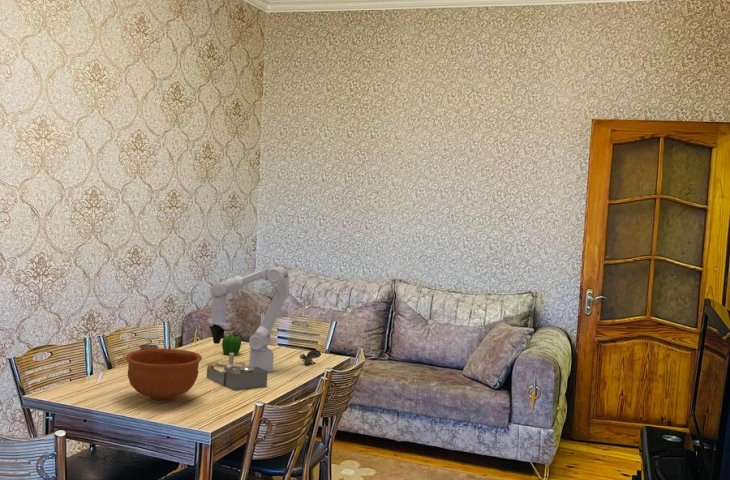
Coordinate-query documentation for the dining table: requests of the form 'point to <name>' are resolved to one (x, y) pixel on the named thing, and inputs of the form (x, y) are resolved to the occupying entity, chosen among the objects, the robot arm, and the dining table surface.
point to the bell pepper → (231, 344)
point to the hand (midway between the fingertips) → (216, 343)
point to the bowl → (162, 372)
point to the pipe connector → (230, 363)
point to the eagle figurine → (310, 356)
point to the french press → (150, 337)
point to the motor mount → (239, 377)
